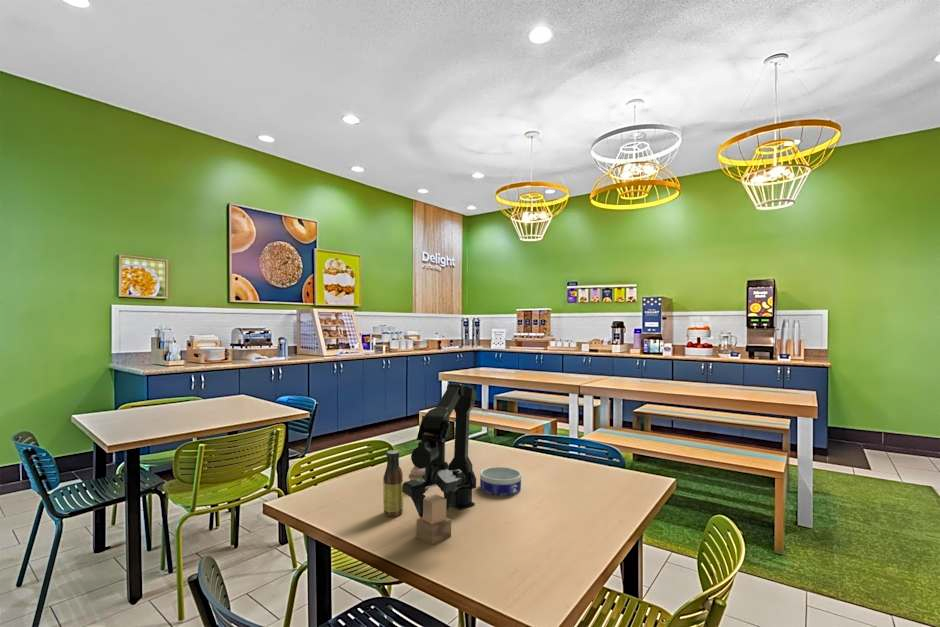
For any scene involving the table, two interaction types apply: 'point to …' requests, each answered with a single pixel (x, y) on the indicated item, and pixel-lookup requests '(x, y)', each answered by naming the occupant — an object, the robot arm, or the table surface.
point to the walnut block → (433, 530)
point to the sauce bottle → (393, 485)
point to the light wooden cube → (434, 509)
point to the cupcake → (417, 474)
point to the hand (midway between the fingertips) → (434, 512)
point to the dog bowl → (500, 481)
